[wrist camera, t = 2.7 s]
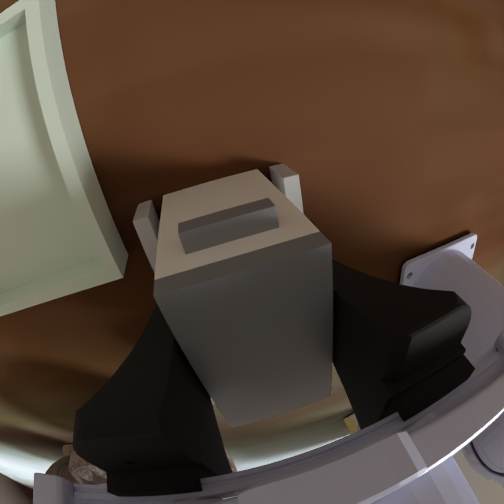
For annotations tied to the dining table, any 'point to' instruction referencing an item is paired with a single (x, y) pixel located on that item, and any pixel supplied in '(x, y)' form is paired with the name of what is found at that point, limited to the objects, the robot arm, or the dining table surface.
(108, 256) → the tray
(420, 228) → the dining table surface
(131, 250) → the dining table surface
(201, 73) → the dining table surface
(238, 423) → the block
